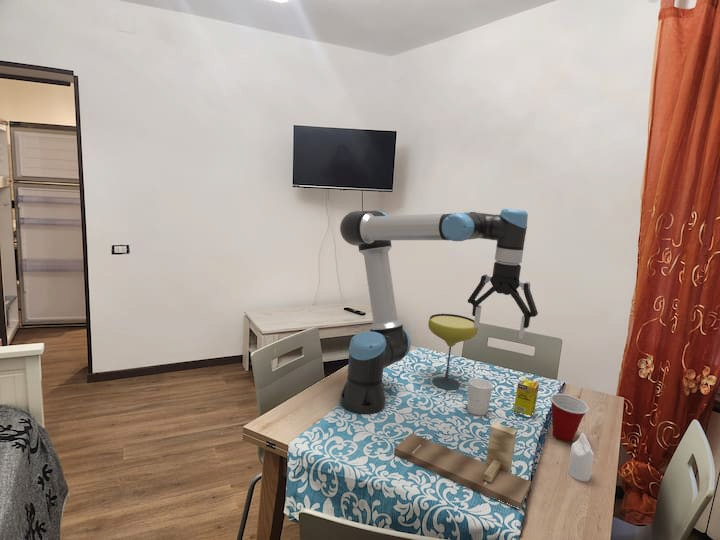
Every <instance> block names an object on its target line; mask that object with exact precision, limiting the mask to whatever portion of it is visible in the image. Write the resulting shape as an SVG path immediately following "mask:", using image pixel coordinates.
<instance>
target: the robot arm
mask: <svg viewBox="0 0 720 540" xmlns="http://www.w3.org/2000/svg"><path fill="white" fill-rule="evenodd" d="M528 216H529V215H528V212H527V211H526V210H523V209H514V208H513V209H512V208H502V209H501V211H500V214H492V213H491V214H490V213H483V212H476V211H463V212H455V213H435V214H434V213H432V214H431V213H430V214H406V215H405V214H401V215H389V214H387V213H386V212H385V211H384V212H383V211H379V210H355V211H354V210H353V211H351V212H349V213H347V214H345V215H344V217H343V218H342V219H341V221H340V225H339V230H340V231H339V232H340V234H341V237H342V238H343V240H344V241H345V242H346V243H347V244H349V245H352V246H357V247H358V252H359V253H360V254H362V256H363V258H364V266H365V272H366V278H367V279H366V281H367V287H368V293H369V301H370V308H371V314H372V315H371V317H372V323H371V325H370V327H369V331H366V332H365V331H361V332H358V333H356V334H354V335H353V336H352V337H351V339H350V344H349V347H348V364H347V365H348V366H347V379H346V382H345V384H344V386H343V389H342V391H341V393H340V399H339V401H340V405H341V406H342V407H343V408H344V409H346V410H347V411H349V412H353V413H357V414H365V415H369V414H374V413H378V412H381V411H382V410H384V409H385V407H386V396H385V395H386V394H385V391H384V386H383V374H384V369H386V368H387V367H389V366H391V365H393V364H395V363H398V362H400V361H402V360H403V359H404V358H405V357H406V356H408V355H409V352H410V350H411V345H412V344H411V343H412V342H411V341H412V340H411V336H410V334H409V333H408V332H407V331H406V329H404V326H403V323H402V322H401V321H400V320H399V319H398V315H397V308H396V301H395V299H396V298H395V291H394V286H393V278H392V272H391V264H390V263H391V262H390V257H389V251H390V249H392V241H453V242H463V241H469V240H475V239H476V240H477V239H480V240H491V241H496V248H495V255H494V260H495V262H494V263H493V269H492V276H489V275H487V274H484V275H481V276H480V281H479V283H478V285H477V286H476V287H475V289H474V290H473V292H471V294H470V296H469V298H468V299H467V303H469V304H471V305H472V311H471V315H472V316H473V317H474V319H473V320H474V328H477V327H478V328H479V327H480V320H481V312H482V305H481V303H483V301H485V300H486V299H487V298H489V296H491V295H492V294H494V293H495V292H496V294H502V295H506V296H509V295H510V296H511V298H513V300H514V301H515V303H516V305H517V306H518V307H519V309H520V311H521V312H522V316H521V318H520V319H521V320H520V327H519V332H518V334H519V335H518V339H519V340H522V339H523V338H524V337H525V332H526V331H525V329H528V328H529V327H530V322H531V318H535V317H537V316H538V314H539V312H538V310H537V306H536V303H535V301H534V298H533V294H532V292H531V283H530V282H529V281H526V282H521V281H520V275H521V269H522V266H521V263H522V262H523V256H524V255H523V254H524V247H525V239H526V235H527V234H526V233H527V229H528V219H529V218H528ZM489 282H490V283H491V287H490V288H489V289H488V290H487V291H486V292H484V293H483V294H482V295H481V296H480V297H479V294H480V293H481V292H482V290H483V288H484V287H485V285H486V284H487V283H489ZM519 288H521V290H522V291H523V295H524V296H525V300H526V303H525V301H524V300H523V299H522V297H521V295H520V293H519V291H518V289H519ZM477 297H478V298H477ZM526 304H527V305H526ZM527 306H528V307H527Z"/></svg>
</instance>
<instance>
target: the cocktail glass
mask: <svg viewBox="0 0 720 540" xmlns="http://www.w3.org/2000/svg"><path fill="white" fill-rule="evenodd" d="M474 320H475V319H472V318H470V317H468V316H467V317H466V316H463V315H459V314H451V313H437V314H432V315H431V316H430V317H429V319H428V329H429V331H430V332H431V333H432V334H433V335H435V336H436V337H438V338H439V339H441V340H443V341H444V342H445V343H446V345H447V346H448V355H447V356H448V357H447V364H446V370H445V375H444V376H436V377H434V378H432V379H431V383H432V384H433V386H435V387H437V388H440V389H443V390H450V391H451V390H457V389H459V388H460V387H461V383H460V382H459V381H458V380H456V379H454V378H452V377H449V368H450V360H451V351H452V347H454V346H455V345H457V343H461V342H464V341H468V340H471V339H472V338H474V337H475V336H476V335H477V333H478V330H479V326H478V327H477V328H474Z"/></svg>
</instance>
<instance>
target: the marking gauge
mask: <svg viewBox="0 0 720 540" xmlns="http://www.w3.org/2000/svg"><path fill="white" fill-rule="evenodd" d="M489 430H490V431H489V437H488V444H487V450H486V451H487V452H486V457H485V458H486V460H485V463H487V464H489V465H490V466H489V467H488V469H487V470H486V472H485V473H484V477H483V480H486V481H488V482H490V483H491V482H492V480H493V479H494V477H495V476H496V474H497V473H498V471H499V470H500V469H501V470H504V471H506V472H509V473H511V472H512V466H513V460H514V455H515V454H514V453H515V447H516V440H517V433H518V429H515V428H513V427H510V426H507V425H504V424H500V423H498V422H496V421H495V422H493V423H492V425H490V429H489ZM510 471H511V472H510Z"/></svg>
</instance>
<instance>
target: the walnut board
mask: <svg viewBox="0 0 720 540" xmlns="http://www.w3.org/2000/svg"><path fill="white" fill-rule="evenodd" d="M393 449H394V452H393V455H394V456H397V457H399V458H401V459H403V460H405V461H407V462H410V463H412V464H414V465H417V466H419V467H420V468H423V469H426V470H428V471H429V472H432V473H435V474H436V475H439V476H440V477H443V478H446V479H447V480H450V481H453V482H455V483H458V484H459V485H461V486H463V487H466V488H468V489H471V491H472V490H473V491H474V492H476V493H477V492H478V493H479V494H482V495H484V496H486V495H487V496H486V497H488V496H490V497H493V498H495V499H497V500H500V501H502V502H504V503H508V504H510V505H512V506H515V507H518V508H519V509H520V510H521V508H522V506H523V504H524V502H525V500H524V498H525V496H526V495H527V496H528V493H529V492H530V489H531V485H532V481H531V480H528V479H526V478H523V477H521V476H518V475H515V474H514V473H511V472H510V473H509V472H506V471H504V470H501V469H500V470H499V471H498V473H497V474H496V476H495V477H494V479H493V480H492V482H491V483H490V482H488V481H486V480H483V477H484V473H485V472H486V470H487V469H488V467H489V466H490V465H489V464H487V463H486V462H484V461H482V460H480V459H476V458H474V457H472V456H470V455H469V456H468V455H466V454H464V453H461V452H459V451H457V450H454V449H452V448H449V447H447V446H445V445H442V444H439V443H437V442H434V441H433V440H429V439H427V438H425V437H423V436H420V435H418V434H415V433H412V432H411V433H410V434H409V435H408V436H407V437H405V438H404V439H403V440H402V441H401V442H399V444H397V445H396V446H395V447H394V448H393ZM527 496H526V497H527ZM490 497H489V498H490ZM493 498H492V499H493ZM495 499H494V500H495ZM525 499H526V498H525ZM497 500H496V501H497ZM523 501H524V502H523ZM502 502H501V503H502ZM504 503H503V504H504ZM522 503H523V504H522ZM521 505H522V506H521ZM520 507H521V508H520Z"/></svg>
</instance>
